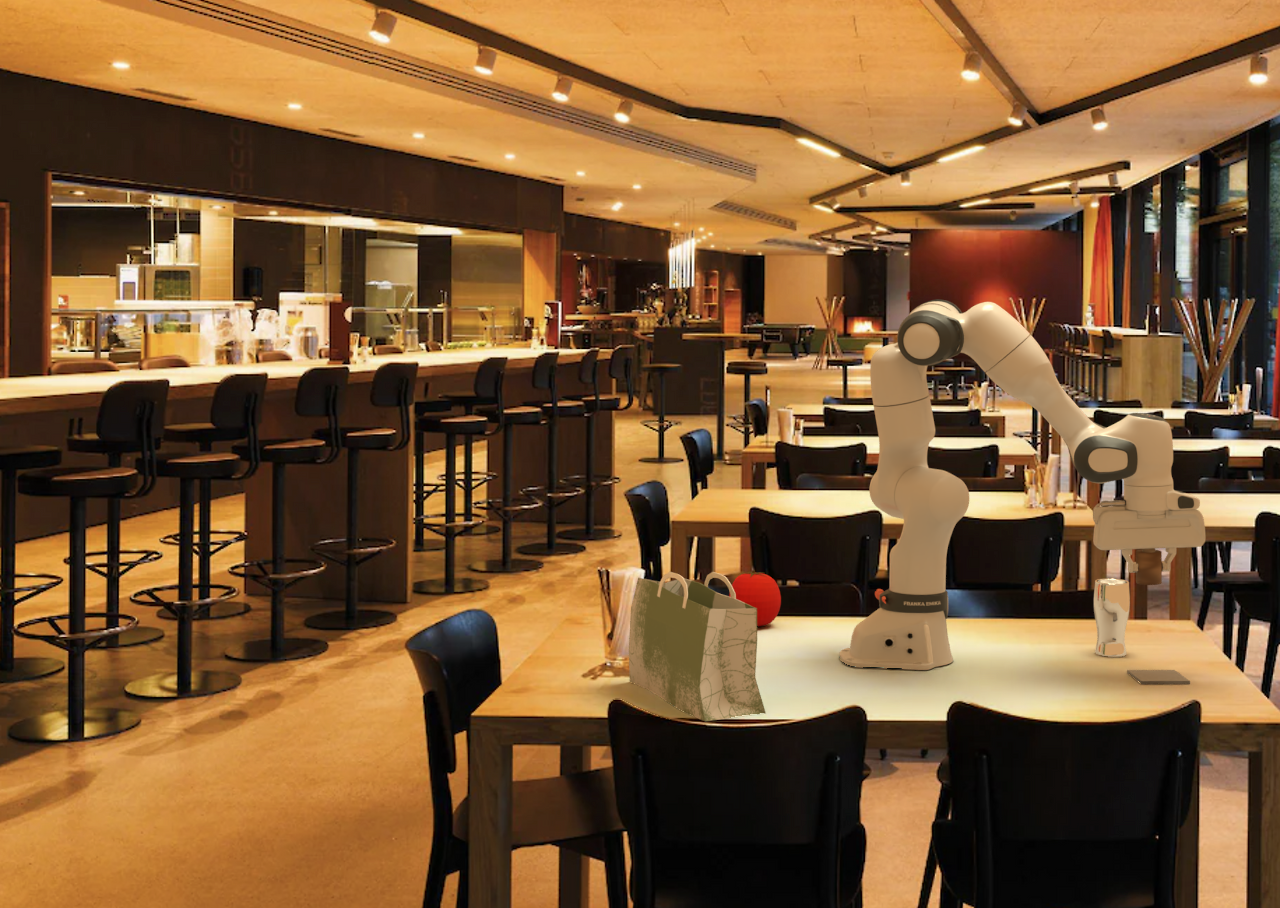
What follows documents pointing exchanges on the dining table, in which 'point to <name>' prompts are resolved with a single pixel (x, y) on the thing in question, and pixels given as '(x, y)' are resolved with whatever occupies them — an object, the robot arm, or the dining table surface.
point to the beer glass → (1111, 616)
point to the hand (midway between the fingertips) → (1149, 571)
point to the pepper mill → (1149, 567)
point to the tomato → (759, 595)
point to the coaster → (1158, 677)
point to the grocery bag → (695, 647)
